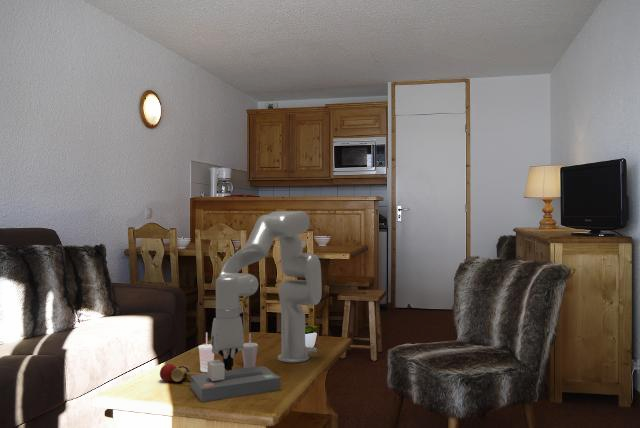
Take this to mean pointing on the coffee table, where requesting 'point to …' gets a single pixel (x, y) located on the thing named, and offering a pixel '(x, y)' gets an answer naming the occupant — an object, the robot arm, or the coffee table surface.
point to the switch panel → (235, 383)
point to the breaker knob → (216, 370)
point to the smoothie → (249, 353)
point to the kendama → (175, 373)
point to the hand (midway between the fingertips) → (228, 369)
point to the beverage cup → (205, 355)
